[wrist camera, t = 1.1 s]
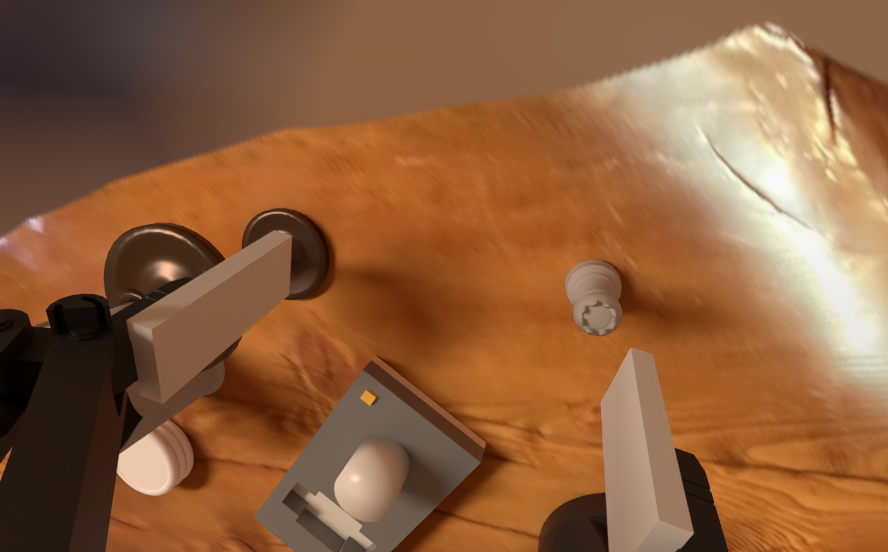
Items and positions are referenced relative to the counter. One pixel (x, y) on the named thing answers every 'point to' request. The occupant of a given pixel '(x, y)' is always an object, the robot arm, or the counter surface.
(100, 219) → the counter surface
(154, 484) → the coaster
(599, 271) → the rook chess piece
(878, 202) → the counter surface
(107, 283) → the candlestick
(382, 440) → the grey panel with recess
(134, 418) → the glass holder
